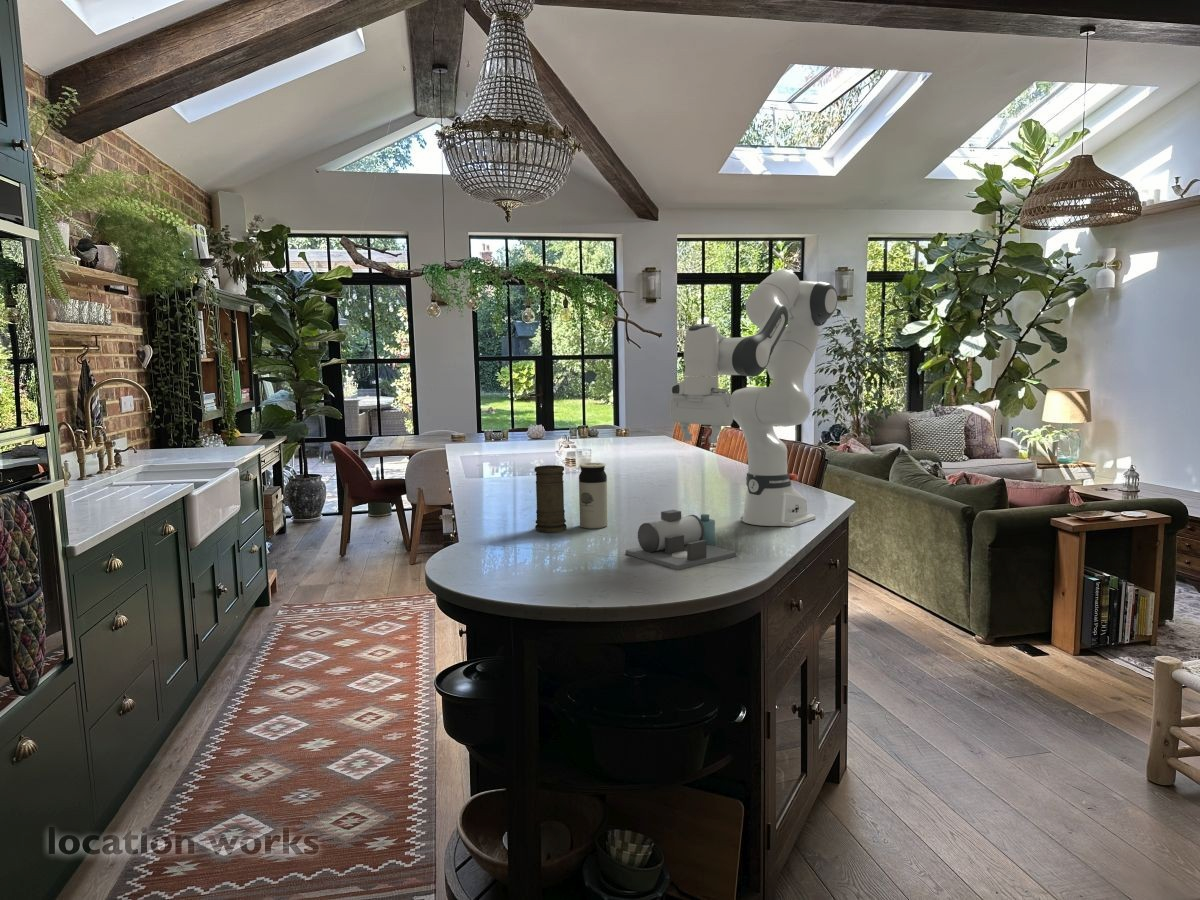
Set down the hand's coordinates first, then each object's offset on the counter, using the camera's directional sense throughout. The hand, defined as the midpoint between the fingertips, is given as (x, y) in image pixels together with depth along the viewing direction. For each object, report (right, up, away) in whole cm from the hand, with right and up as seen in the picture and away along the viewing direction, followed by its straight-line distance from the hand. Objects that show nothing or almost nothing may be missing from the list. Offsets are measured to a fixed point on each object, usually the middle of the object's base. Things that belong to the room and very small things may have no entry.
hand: (699, 441), depth 202 cm
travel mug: (-27, -24, +25) cm, 44 cm away
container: (-39, -25, +21) cm, 51 cm away
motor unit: (-6, -28, -10) cm, 30 cm away
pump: (+2, -26, +1) cm, 26 cm away
